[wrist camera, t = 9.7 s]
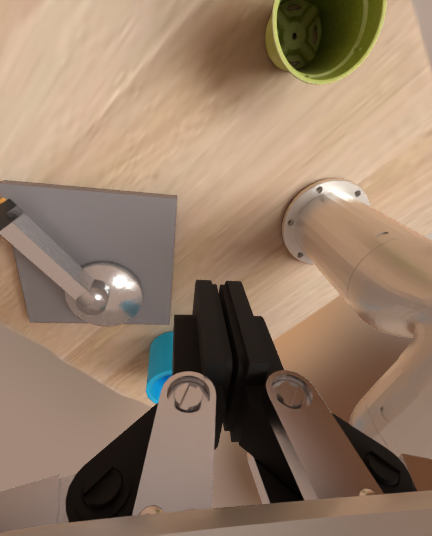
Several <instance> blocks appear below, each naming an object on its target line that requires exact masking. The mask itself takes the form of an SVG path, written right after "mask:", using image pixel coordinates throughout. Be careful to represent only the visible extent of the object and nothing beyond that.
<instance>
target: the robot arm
mask: <svg viewBox="0 0 432 536" xmlns="http://www.w3.org/2000/svg"><path fill="white" fill-rule="evenodd" d="M317 188H318V189H317ZM316 189H317V190H316ZM289 220H290V221H289ZM288 221H289V222H288ZM282 238H283V241H284V244H285V246H286V247H287V249H288V251H289V252H290V253H291V254H292V255H293V256H294V257H295V258H296V259H298V260H300V261H302V262H304V263H307V264H313V265H315V266H316V267H317V268H318V269H319V270H320V271H321V273H322V274H323V275H324V276H325V277H326V279H327V280H328V281H329V282H330V283H331V284H332V286H333V287H334V288H335V289H336V290H337V291H338V293H339V294H340V295H341V296H342V297H343V299H344V300H345V301H346V302H347V303H348V304H349V306H350V307H351V308H352V309H353V310H354V311H355V312H356V313H357V314H358V316H359V317H360V318H361V319H362V320H363V321H364V322H365V323H367V324H368V325H369V326H371V327H372V328H375V329H376V330H379V331H381V332H384V333H388V334H391V335H395V336H401V337H410V338H413V340H412V342H411V343H410V345H409V346H408V347H407V348H406V350H405V351H404V352H403V353H402V354H401V355H400V357H399V359H398V360H397V361H396V362H395V363H394V364H393V365H392V366H391V367H390V368H389V370H388V371H387V372H386V373H385V374H384V375H383V376H382V377H381V378H380V379H379V380H378V381H377V382H376V384H375V385H374V386H373V387H372V388H371V389H370V390H369V391H368V392H367V393H366V394H365V396H364V397H363V398H362V399H361V400H360V402H359V403H358V404H357V406H356V407H355V409H354V411H353V413H352V415H351V418H350V423H349V424H348V423H347V422H345V421H343V420H342V419H340V418H339V417H337V416H336V415H334V414H333V413H331V412H330V410H329V409H328V407H327V405H326V404H325V402H324V401H323V399H322V398H321V396H320V395H319V393H318V392H317V390H316V389H315V387H314V386H313V385H312V383H310V381H309V380H308V379H306V378H305V377H304V376H302V375H300V374H298V373H296V372H292V371H288V370H284V369H283V366H282V364H281V361H280V359H279V356H278V354H277V351H276V349H275V346H274V344H273V341H272V338H271V336H270V333H269V331H268V328H267V326H266V323H265V321H264V319H263V317H261V316H253V313H252V310H251V308H250V305H249V302H248V299H247V296H246V294H245V291H244V288H243V285H242V283H241V282H240V281H226V282H225V285H220V288H219V293H218V288H217V285H216V284H212V282H211V280H196V283H195V293H194V304H193V315H174V330H173V359H172V376H171V377H170V378H169V379H168V380H167V381H166V382H165V383H164V385H163V387H162V390H161V394H160V398H159V402H158V403H157V404H156V405H155V406H154V407H152V408H151V409H150V410H149V411H148V412H147V413H145V414H144V415H143V416H142V417H141V418H140V419H138V420H137V421H136V422H135V423H134V424H132V425H131V426H130V427H129V428H128V429H127V430H126V431H124V432H123V433H122V434H121V435H119V436H118V437H117V438H116V439H115V440H114V441H112V442H111V443H110V444H109V445H108V446H107V447H105V448H104V449H103V450H102V451H101V452H100V453H98V454H97V455H96V456H95V457H94V458H92V459H91V460H90V461H89V462H88V463H87V464H85V465H84V467H82V469H81V470H80V471H79V472H78V473H77V474H74V475H71V476H67V477H64V478H60V475H56V476H52V477H49V478H46V479H42V480H39V481H35V482H32V483H29V484H25V485H22V486H18V487H15V488H12V489H8V490H5V491H1V492H0V536H432V240H430V239H428V238H426V237H424V236H422V235H421V234H419V233H417V232H415V231H413V230H412V229H410V228H408V227H406V226H404V225H402V224H401V223H399V222H397V221H395V220H393V219H391V218H390V217H388V216H386V215H384V214H382V213H380V212H379V211H377V210H375V209H373V208H371V205H370V201H369V199H368V196H367V195H366V193H365V192H364V190H363V189H362V188H360V187H359V186H358V185H356V184H355V183H353V182H351V181H348V180H345V179H339V178H331V179H325V180H321V181H318V182H316V183H314V184H312V185H310V186H308V187H307V188H305V189H304V190H302V191H301V192H300V193H299V194H298V195H297V196H296V197H295V198H294V199H293V201H292V202H291V204H290V205H289V207H288V209H287V211H286V213H285V215H284V219H283V222H282ZM222 423H223V426H224V430H225V431H230V435H231V442H239V445H240V446H241V447H242V448H243V449H245V450H246V451H247V458H248V463H249V466H250V468H251V471H252V474H253V477H254V480H255V483H256V486H257V489H258V492H259V495H260V498H261V501H262V504H259V505H247V506H236V507H224V508H213V509H212V495H213V468H214V467H213V466H214V450H215V449H216V448H217V446H218V443H219V438H220V433H221V428H222Z"/></svg>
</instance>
